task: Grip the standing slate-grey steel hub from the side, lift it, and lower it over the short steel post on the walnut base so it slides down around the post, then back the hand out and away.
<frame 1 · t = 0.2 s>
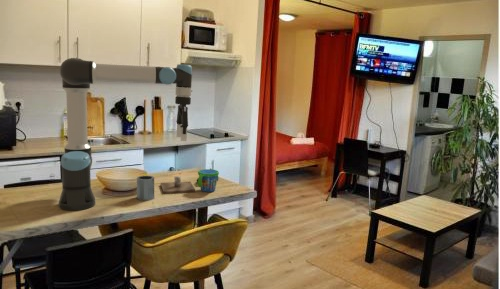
hand: (181, 138, 207), 27 cm above the table, tool pointing down, fingers open, 13 cm apart
shaft stand: (177, 188, 216), on the table
snack cup: (208, 190, 215), on the table
steel hub: (145, 197, 199), on the table
fossil: (205, 182, 231), on the table
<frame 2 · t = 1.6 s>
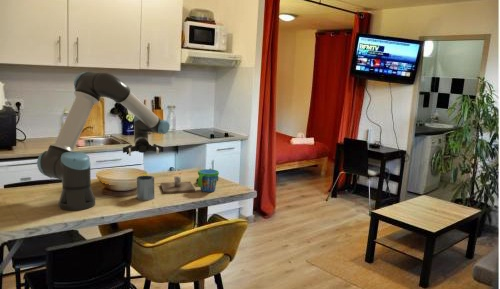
hand: (144, 152, 205), 20 cm above the table, tool horizontal, fingers open, 13 cm apart
nothing on the table moved.
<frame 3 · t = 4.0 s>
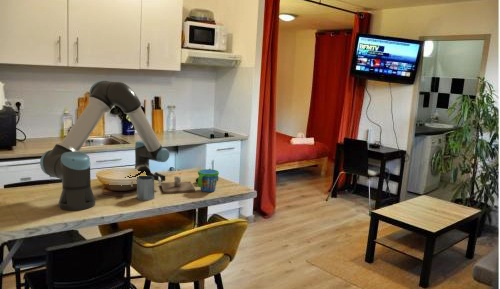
hand: (146, 183, 203), 6 cm above the table, tool horizontal, fingers open, 13 cm apart
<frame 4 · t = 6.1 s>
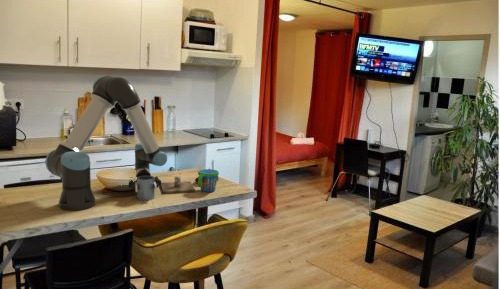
hand: (146, 188, 193), 6 cm above the table, tool horizontal, fingers closed on steel hub, 8 cm apart
steel hub: (145, 197, 199), on the table, touching gripper
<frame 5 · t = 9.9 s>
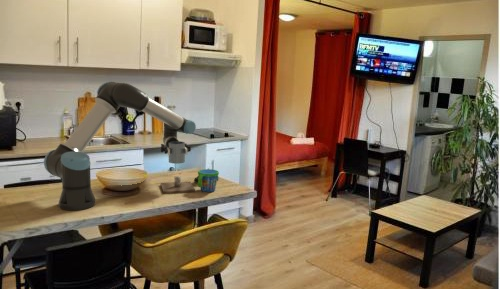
hand: (178, 152, 208), 20 cm above the table, tool horizontal, fingers closed on steel hub, 8 cm apart
steel hub: (176, 161, 213), point 14 cm above the table, touching gripper
when the fingers open (8 cm above the table, at t = 13.8 s): steel hub stays where it is, resting on shaft stand.
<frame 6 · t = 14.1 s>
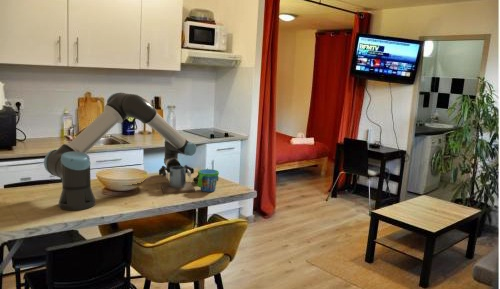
hand: (178, 175, 211), 8 cm above the table, tool horizontal, fingers open, 11 cm apart
steel hub: (177, 186, 216), point 1 cm above the table, touching shaft stand
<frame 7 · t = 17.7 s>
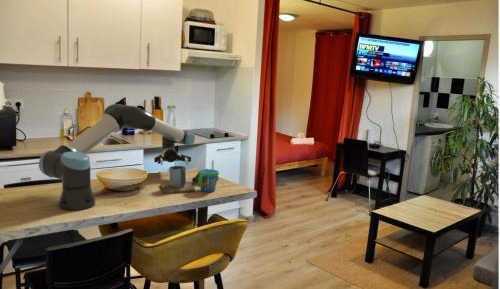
hand: (174, 162, 223), 12 cm above the table, tool horizontal, fingers open, 13 cm apart
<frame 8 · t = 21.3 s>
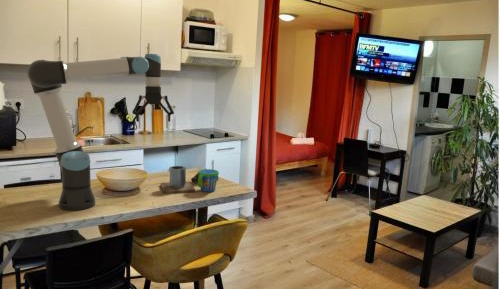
hand: (153, 128, 209), 32 cm above the table, tool pointing down, fingers open, 13 cm apart
at the end: steel hub 0.0 cm from the shaft stand (horizontally); steel hub point 1.2 cm above the table; steel hub tilted 0° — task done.
